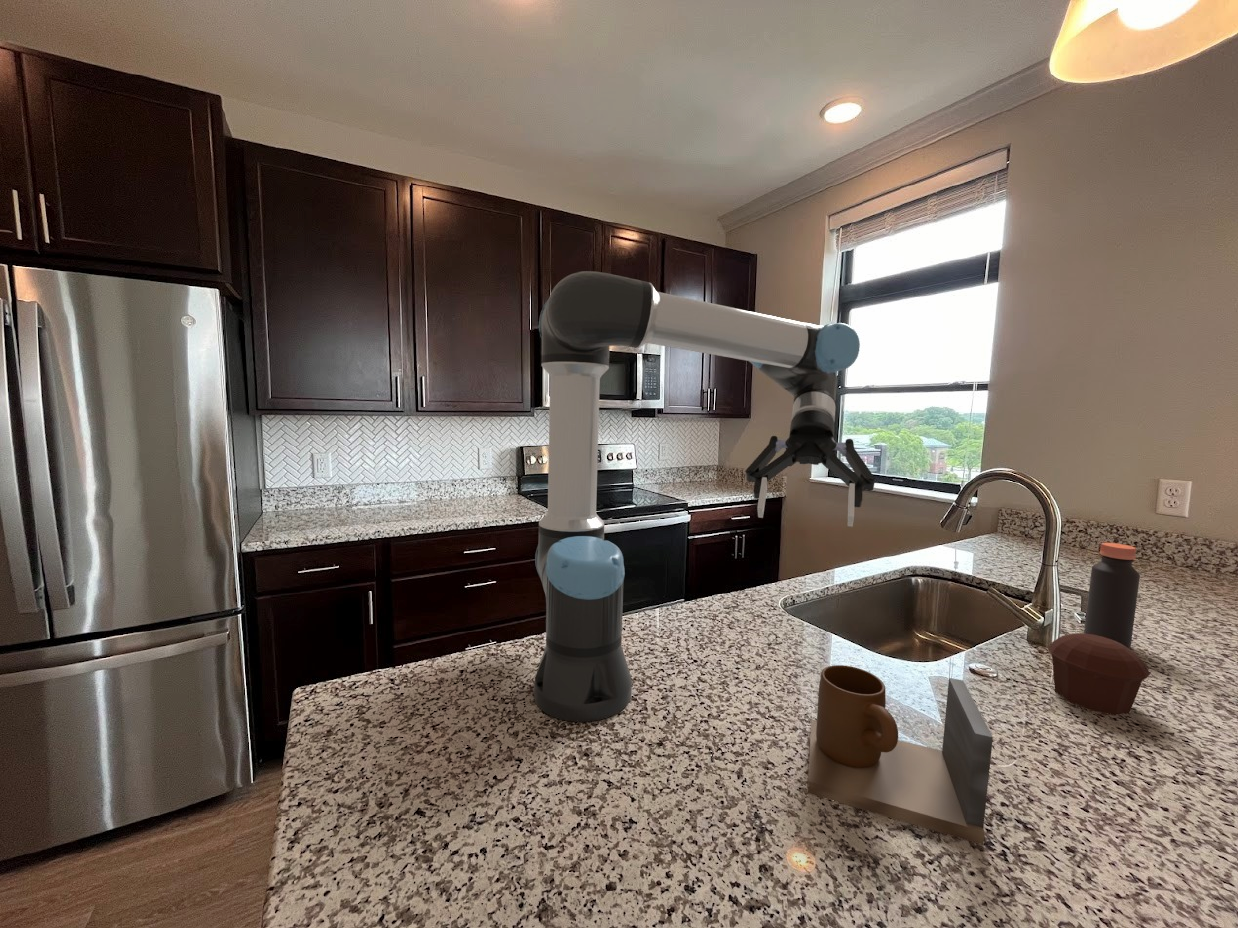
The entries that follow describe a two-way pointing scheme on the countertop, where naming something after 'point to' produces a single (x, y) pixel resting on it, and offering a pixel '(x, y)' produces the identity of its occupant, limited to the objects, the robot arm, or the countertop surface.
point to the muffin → (1096, 672)
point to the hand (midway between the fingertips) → (803, 517)
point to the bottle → (1113, 594)
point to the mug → (853, 717)
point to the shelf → (919, 775)
